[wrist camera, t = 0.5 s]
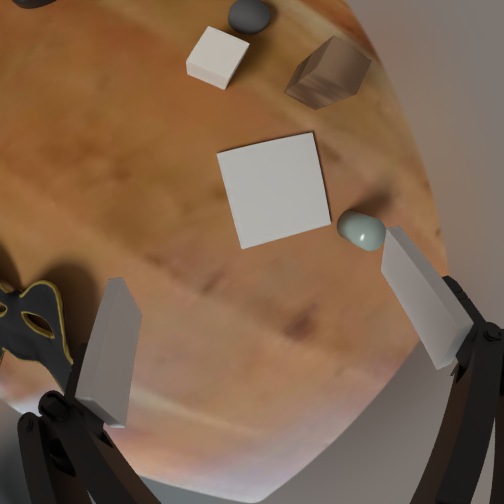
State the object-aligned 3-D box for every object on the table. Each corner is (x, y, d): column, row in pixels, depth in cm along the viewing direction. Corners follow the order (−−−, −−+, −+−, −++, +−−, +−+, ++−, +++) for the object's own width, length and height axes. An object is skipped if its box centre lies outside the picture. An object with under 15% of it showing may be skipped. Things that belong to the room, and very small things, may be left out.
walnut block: (283, 92, 34) (316, 68, 24) (298, 65, 33) (333, 35, 23) (314, 110, 35) (356, 94, 25) (328, 82, 34) (371, 60, 24)
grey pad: (216, 153, 35) (216, 153, 34) (310, 132, 36) (312, 132, 35) (241, 248, 39) (241, 249, 38) (329, 223, 40) (330, 224, 39)
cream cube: (187, 74, 32) (186, 61, 27) (206, 42, 31) (208, 26, 26) (224, 90, 33) (228, 79, 28) (243, 57, 32) (249, 43, 27)
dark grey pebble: (224, 7, 30) (225, 0, 28) (261, 3, 30) (264, -4, 28) (232, 37, 31) (234, 31, 29) (271, 32, 32) (274, 26, 30)
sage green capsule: (334, 214, 39) (356, 222, 34) (360, 207, 40) (384, 214, 34) (339, 242, 41) (360, 254, 35) (364, 234, 41) (387, 245, 35)
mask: (-36, 243, 31) (-12, 385, 38) (-59, 255, 25) (-24, 404, 32) (96, 282, 37) (96, 425, 44) (81, 304, 31) (90, 450, 38)
